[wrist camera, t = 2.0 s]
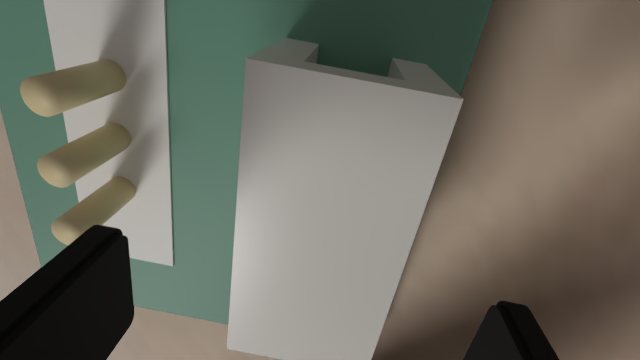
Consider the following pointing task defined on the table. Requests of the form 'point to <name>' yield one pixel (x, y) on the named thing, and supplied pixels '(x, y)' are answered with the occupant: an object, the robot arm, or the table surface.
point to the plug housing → (329, 199)
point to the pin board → (178, 115)
